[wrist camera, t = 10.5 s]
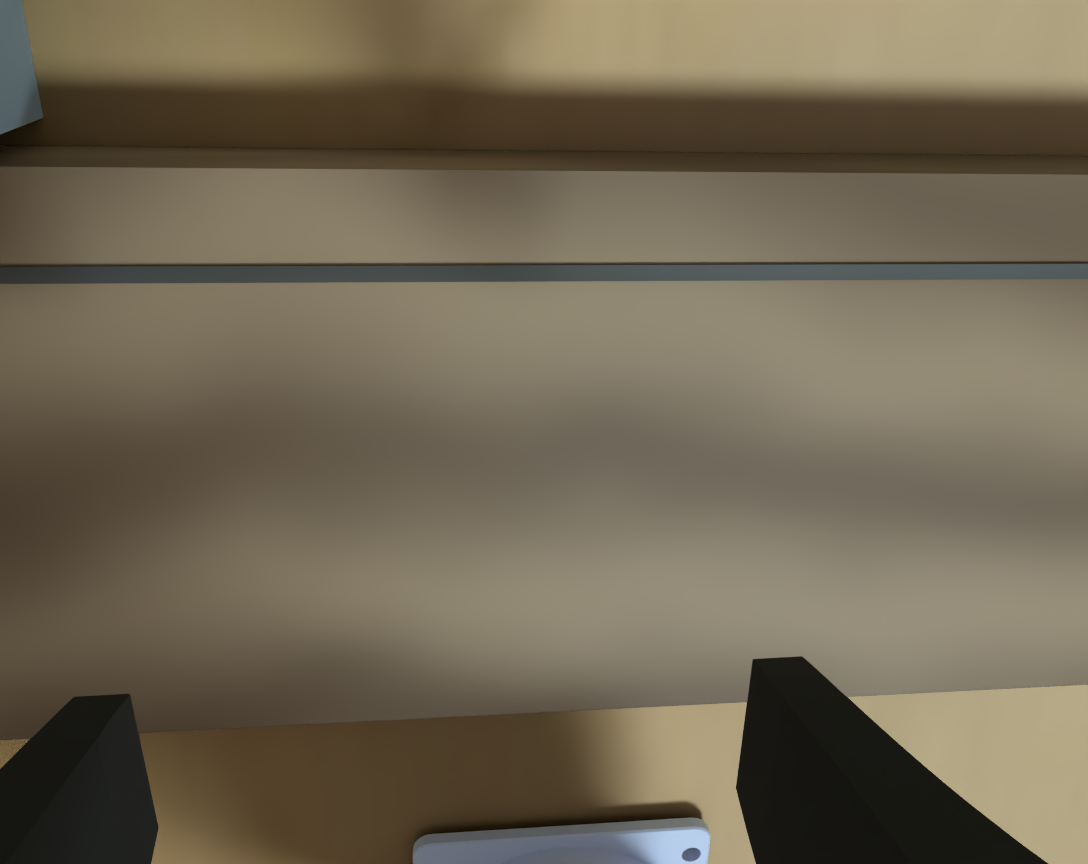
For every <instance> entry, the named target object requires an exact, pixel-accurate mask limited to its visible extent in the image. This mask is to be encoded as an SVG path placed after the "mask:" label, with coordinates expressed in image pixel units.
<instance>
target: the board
mask: <svg viewBox="0 0 1088 864" xmlns="http://www.w3.org/2000/svg"><path fill="white" fill-rule="evenodd" d="M798 656H802V657H804V658H805V659H806V660H807V661H808V662H809V663H810V664H811V665H813V666H814V667H815V668H816V669H817V670H818V671H819V672H820V673H821V674H823V675H824V676H825V677H826V678H827V679H828V680H829V681H830V682H831V683H832V684H833V685H834V686H836V687H837V688H838V689H839V690H840V691H841V692H842V693H843V694H844V695H845V696H846V697H854V696H873V695H893V694H913V693H932V692H952V691H971V690H991V689H1010V688H1030V687H1049V686H1069V685H1088V156H1021V155H917V154H813V153H709V152H605V151H501V150H397V149H293V148H189V147H85V146H0V740H13V739H31V738H32V737H33V736H34V735H35V734H36V733H37V732H38V731H39V730H40V729H41V728H42V727H43V726H44V725H45V724H46V723H47V722H48V721H49V720H50V719H51V718H52V717H53V716H54V715H55V714H57V713H58V712H59V711H60V710H61V709H62V708H63V707H64V706H65V705H66V704H67V703H68V702H69V701H70V700H71V699H72V698H73V697H78V696H96V695H114V694H130V696H131V701H132V705H133V710H134V715H135V720H136V724H137V729H138V733H150V732H170V731H189V730H209V729H228V728H248V727H268V726H287V725H307V724H326V723H346V722H365V721H385V720H404V719H424V718H443V717H463V716H483V715H502V714H522V713H541V712H561V711H580V710H600V709H619V708H639V707H658V706H678V705H698V704H717V703H737V702H747V700H748V692H749V684H750V676H751V669H752V661H753V659H762V658H780V657H798Z"/></svg>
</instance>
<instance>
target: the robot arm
mask: <svg viewBox="0 0 1088 864" xmlns="http://www.w3.org/2000/svg"><path fill="white" fill-rule="evenodd" d="M736 789H737V793H738V797H739V801H740V805H741V809H742V813H743V817H744V821H745V825H746V829H747V833H748V836H749V840H750V843H751V847H752V851H753V854H754V858H755V861H756V864H1048V863H1046V862H1045V861H1044V860H1042V859H1041V858H1040V857H1038V856H1037V855H1035V854H1034V853H1033V852H1031V851H1030V850H1029V849H1027V848H1026V847H1024V846H1023V845H1022V844H1020V843H1019V842H1018V841H1016V840H1015V839H1014V838H1013V837H1011V836H1010V835H1009V834H1007V833H1006V832H1005V831H1004V830H1002V829H1001V828H1000V827H998V826H997V825H996V824H995V823H993V822H992V821H991V820H989V819H988V818H987V817H986V816H984V815H983V814H982V813H981V812H979V811H978V810H977V809H975V808H974V807H973V806H972V805H970V804H969V803H968V802H967V801H965V800H964V799H963V798H962V797H960V796H959V795H958V794H957V793H956V792H954V791H953V790H952V789H951V788H950V787H948V786H947V785H946V784H945V783H943V782H942V781H941V780H940V779H939V778H937V777H936V776H935V775H934V774H933V773H932V772H930V771H929V770H928V769H927V768H926V767H925V766H923V765H922V764H921V763H920V762H919V761H918V760H916V759H915V758H914V757H913V756H912V755H911V754H910V753H908V752H907V751H906V750H905V749H904V748H903V747H902V746H900V745H899V744H898V743H897V742H896V741H895V740H894V739H893V738H891V737H890V736H889V735H888V734H887V733H886V732H885V731H884V730H882V729H881V728H880V727H879V726H878V725H877V724H876V723H875V722H874V721H873V720H872V719H870V718H869V717H868V716H867V715H866V714H865V713H864V712H863V711H862V710H861V709H859V708H858V707H857V706H856V705H855V704H854V703H853V702H852V701H851V700H850V699H849V698H847V697H846V696H845V695H844V694H843V693H842V692H841V691H840V690H839V689H838V688H837V687H836V686H834V685H833V684H832V683H831V682H830V681H829V680H828V679H827V678H826V677H825V676H824V675H823V674H821V673H820V672H819V671H818V670H817V669H816V668H815V667H814V666H813V665H811V664H810V663H809V662H808V661H807V660H806V659H805V658H804V657H802V656H798V657H780V658H762V659H753V661H752V669H751V676H750V684H749V692H748V700H747V707H746V715H745V723H744V731H743V738H742V746H741V754H740V762H739V769H738V777H737V785H736ZM157 832H158V824H157V819H156V814H155V809H154V805H153V800H152V795H151V791H150V786H149V781H148V776H147V772H146V767H145V762H144V757H143V753H142V748H141V743H140V739H139V734H138V729H137V724H136V720H135V715H134V710H133V705H132V701H131V696H130V694H114V695H96V696H78V697H73V698H72V699H71V700H70V701H69V702H68V703H67V704H66V705H65V706H64V707H63V708H62V709H61V710H60V711H59V712H58V713H57V714H55V715H54V716H53V717H52V718H51V719H50V720H49V721H48V722H47V723H46V724H45V725H44V726H43V727H42V728H41V729H40V730H39V731H38V732H37V733H36V734H35V735H34V736H33V737H32V738H31V739H30V740H29V741H28V742H27V743H26V744H25V745H24V746H23V747H22V748H21V749H20V750H19V751H18V752H17V753H16V754H15V755H14V756H13V757H12V758H11V759H10V760H9V761H8V762H7V763H6V764H5V765H4V766H3V767H2V768H1V769H0V864H151V861H152V856H153V851H154V846H155V841H156V837H157ZM710 839H711V838H710V832H709V829H708V826H707V824H706V823H705V822H704V821H703V820H701V819H699V818H675V819H660V820H644V821H628V822H613V823H597V824H581V825H565V826H550V827H534V828H518V829H502V830H487V831H471V832H455V833H439V834H429V835H425V836H423V837H421V838H419V839H418V840H417V841H416V842H415V843H414V846H413V864H707V861H708V853H709V846H710ZM688 848H692V849H688ZM686 849H688V850H686Z"/></svg>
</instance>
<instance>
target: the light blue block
mask: <svg viewBox="0 0 1088 864" xmlns="http://www.w3.org/2000/svg"><path fill="white" fill-rule="evenodd" d="M41 118H43V112H42V107H41V102H40V96H39V91H38V86H37V80H36V75H35V70H34V64H33V59H32V54H31V48H30V43H29V37H28V32H27V27H26V21H25V16H24V11H23V5H22V0H0V134H3V133H5V132H8V131H10V130H13V129H15V128H18V127H21V126H23V125H26V124H28V123H31V122H33V121H36V120H39V119H41Z"/></svg>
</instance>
